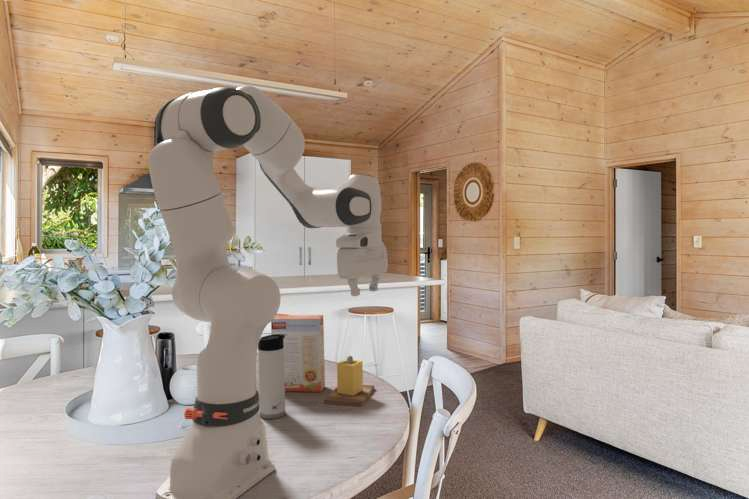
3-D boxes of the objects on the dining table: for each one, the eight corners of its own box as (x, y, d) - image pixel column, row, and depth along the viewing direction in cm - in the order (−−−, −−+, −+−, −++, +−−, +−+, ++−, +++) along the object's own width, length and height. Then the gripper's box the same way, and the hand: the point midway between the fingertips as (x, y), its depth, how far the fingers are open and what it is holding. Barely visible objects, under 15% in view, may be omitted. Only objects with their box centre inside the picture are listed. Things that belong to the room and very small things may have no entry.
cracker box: (325, 386, 151) (324, 314, 150) (321, 392, 145) (320, 318, 144) (278, 385, 153) (276, 314, 152) (272, 391, 147) (270, 317, 146)
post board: (361, 406, 134) (361, 363, 134) (324, 403, 137) (323, 361, 136) (374, 388, 148) (373, 350, 147) (340, 386, 150) (339, 348, 150)
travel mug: (280, 420, 126) (279, 337, 124) (255, 418, 127) (253, 337, 126) (290, 410, 132) (288, 332, 131) (265, 409, 133) (263, 331, 132)
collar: (353, 395, 139) (353, 365, 138) (337, 392, 141) (337, 363, 141) (362, 389, 143) (362, 361, 143) (347, 387, 146) (346, 359, 145)
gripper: (372, 237, 143) (373, 287, 144) (332, 240, 125) (332, 297, 126) (393, 237, 140) (393, 289, 141) (354, 241, 122) (355, 299, 123)
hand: (364, 293), depth 134 cm, fingers open, 8 cm apart
